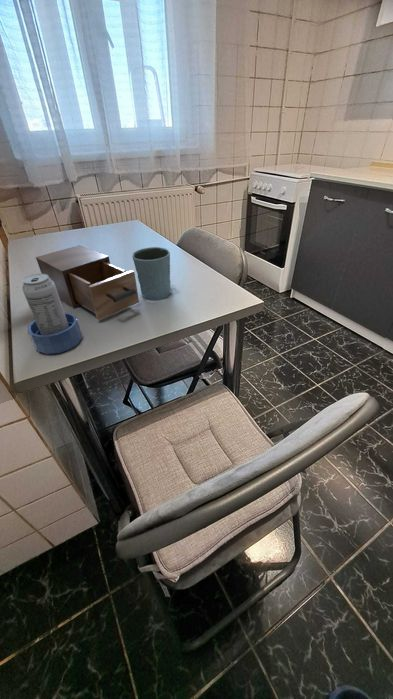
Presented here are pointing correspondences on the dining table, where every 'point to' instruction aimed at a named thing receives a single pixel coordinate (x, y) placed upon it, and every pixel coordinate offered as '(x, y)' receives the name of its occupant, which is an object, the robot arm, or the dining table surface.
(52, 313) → the energy drink can
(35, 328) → the bowl
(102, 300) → the drawer
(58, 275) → the cabinet
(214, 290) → the dining table surface
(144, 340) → the dining table surface
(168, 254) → the blue ceramic cup
